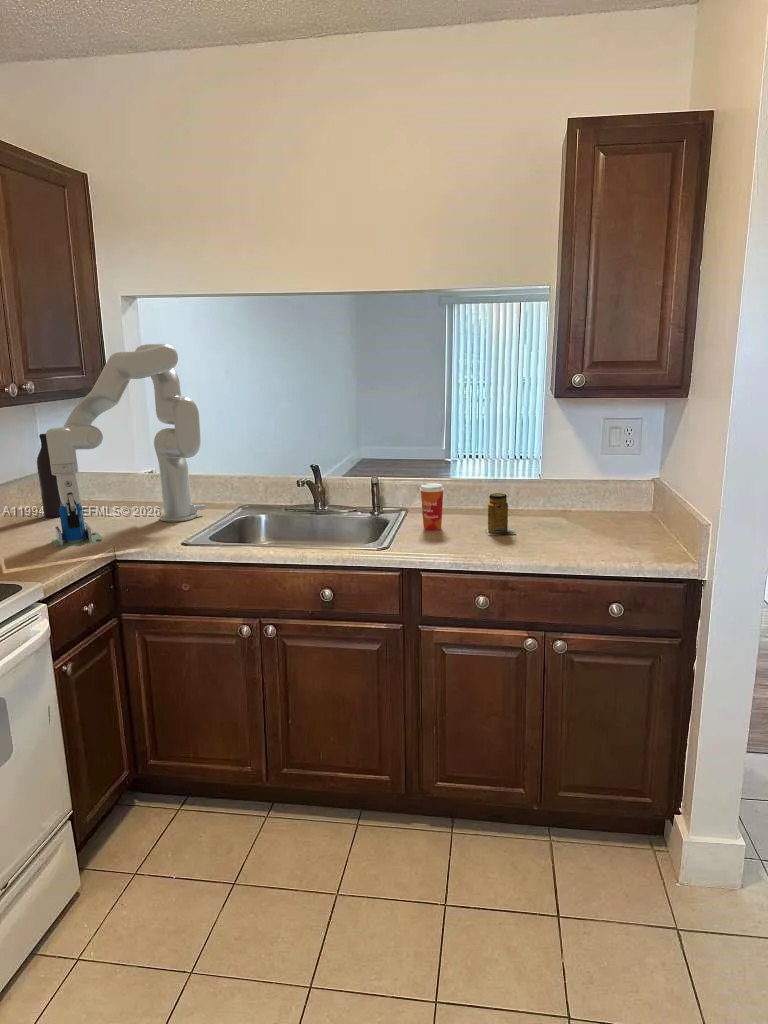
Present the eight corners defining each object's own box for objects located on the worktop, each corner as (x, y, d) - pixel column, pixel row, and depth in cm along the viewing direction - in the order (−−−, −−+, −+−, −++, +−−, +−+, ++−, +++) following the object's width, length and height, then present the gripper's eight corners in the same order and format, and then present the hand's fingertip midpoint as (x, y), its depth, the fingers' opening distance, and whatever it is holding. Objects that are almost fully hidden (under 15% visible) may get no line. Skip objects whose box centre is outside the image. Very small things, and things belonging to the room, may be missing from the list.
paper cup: (415, 528, 227) (414, 485, 224) (430, 523, 233) (430, 481, 230) (434, 532, 222) (434, 488, 219) (449, 527, 228) (449, 484, 224)
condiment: (485, 529, 224) (485, 492, 221) (512, 529, 224) (512, 491, 221) (488, 535, 217) (488, 497, 214) (516, 535, 217) (517, 496, 214)
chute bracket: (87, 535, 228) (86, 521, 227) (92, 541, 220) (90, 527, 219) (56, 540, 223) (54, 526, 222) (60, 546, 216) (58, 532, 215)
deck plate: (98, 535, 231) (98, 531, 231) (105, 543, 221) (104, 539, 221) (51, 542, 224) (51, 538, 224) (56, 551, 214) (55, 547, 214)
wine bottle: (59, 512, 265) (47, 432, 258) (69, 514, 261) (58, 433, 254) (40, 516, 260) (28, 434, 253) (51, 519, 256) (39, 435, 249)
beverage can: (77, 544, 218) (72, 505, 216) (59, 543, 220) (53, 505, 217) (90, 538, 225) (85, 501, 222) (72, 537, 226) (67, 500, 223)
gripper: (81, 471, 211) (89, 529, 215) (73, 463, 226) (81, 517, 230) (54, 474, 208) (62, 533, 212) (48, 466, 222) (56, 521, 226)
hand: (72, 524), depth 221 cm, fingers open, 7 cm apart
